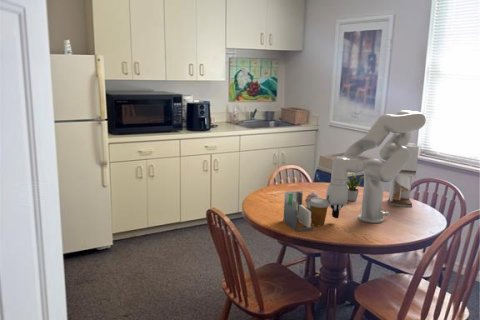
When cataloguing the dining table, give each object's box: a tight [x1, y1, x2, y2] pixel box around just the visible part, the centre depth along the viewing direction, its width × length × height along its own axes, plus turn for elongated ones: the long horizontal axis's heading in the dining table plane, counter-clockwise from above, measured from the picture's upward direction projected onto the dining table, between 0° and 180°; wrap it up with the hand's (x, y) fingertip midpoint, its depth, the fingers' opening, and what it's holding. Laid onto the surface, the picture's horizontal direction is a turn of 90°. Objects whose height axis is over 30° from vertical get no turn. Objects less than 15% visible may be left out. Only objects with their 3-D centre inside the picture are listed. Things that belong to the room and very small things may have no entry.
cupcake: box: [304, 190, 321, 211], centre depth 223 cm, size 9×9×10 cm
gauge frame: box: [282, 190, 314, 232], centre depth 197 cm, size 10×15×15 cm, turn 16°
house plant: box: [347, 173, 364, 202], centre depth 240 cm, size 14×14×16 cm
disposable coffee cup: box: [309, 197, 329, 227], centre depth 200 cm, size 10×10×12 cm
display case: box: [388, 142, 420, 208], centre depth 234 cm, size 11×11×35 cm
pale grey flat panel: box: [297, 192, 312, 228], centre depth 198 cm, size 1×13×14 cm, turn 16°
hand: (335, 217), depth 203 cm, fingers closed
